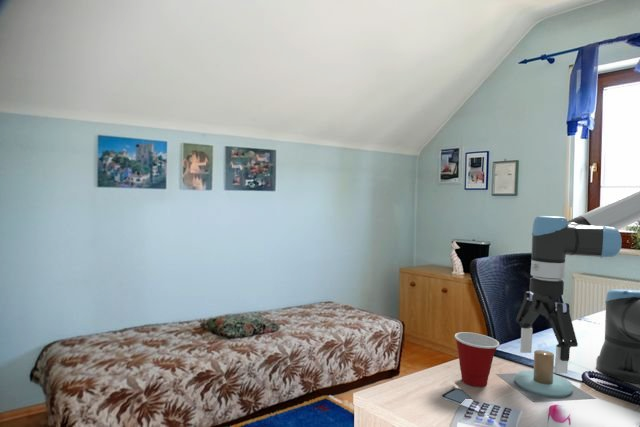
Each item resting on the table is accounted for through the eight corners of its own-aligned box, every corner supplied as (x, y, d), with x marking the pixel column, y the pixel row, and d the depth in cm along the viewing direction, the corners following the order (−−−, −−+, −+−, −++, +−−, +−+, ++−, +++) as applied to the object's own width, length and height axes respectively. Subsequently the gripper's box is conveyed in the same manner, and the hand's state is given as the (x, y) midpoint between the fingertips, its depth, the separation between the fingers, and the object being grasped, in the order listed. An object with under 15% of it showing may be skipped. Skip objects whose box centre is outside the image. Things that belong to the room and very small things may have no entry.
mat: (550, 373, 120) (550, 371, 120) (595, 400, 104) (595, 398, 104) (496, 376, 118) (496, 374, 118) (533, 404, 102) (533, 401, 102)
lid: (549, 373, 118) (550, 343, 118) (585, 395, 105) (586, 361, 105) (504, 376, 116) (505, 345, 116) (535, 398, 103) (536, 364, 103)
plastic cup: (502, 395, 106) (503, 346, 106) (455, 391, 108) (456, 342, 108) (493, 377, 117) (495, 332, 116) (451, 373, 119) (452, 329, 118)
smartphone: (455, 387, 110) (516, 407, 99) (455, 390, 110) (516, 411, 99) (439, 395, 105) (501, 418, 94) (439, 399, 105) (501, 422, 94)
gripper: (504, 269, 122) (500, 345, 122) (568, 288, 97) (563, 383, 98) (529, 269, 123) (525, 344, 123) (599, 288, 98) (593, 382, 99)
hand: (542, 362), depth 111 cm, fingers open, 13 cm apart
